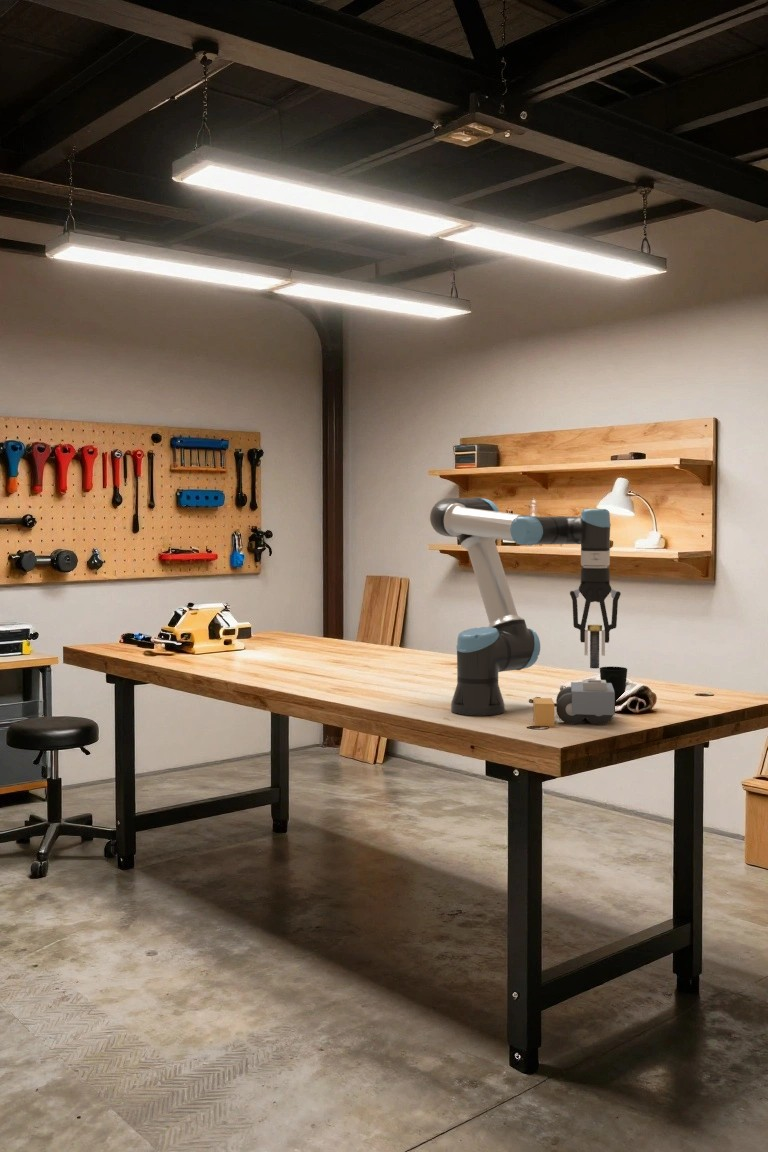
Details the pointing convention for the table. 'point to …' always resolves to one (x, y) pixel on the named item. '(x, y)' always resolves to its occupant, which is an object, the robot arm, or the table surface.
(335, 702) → the table surface
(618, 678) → the cup
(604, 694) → the trolley
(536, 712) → the block
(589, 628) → the pin
